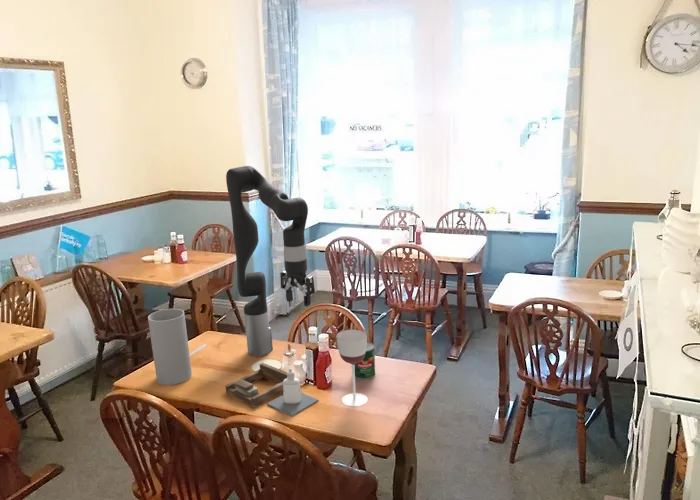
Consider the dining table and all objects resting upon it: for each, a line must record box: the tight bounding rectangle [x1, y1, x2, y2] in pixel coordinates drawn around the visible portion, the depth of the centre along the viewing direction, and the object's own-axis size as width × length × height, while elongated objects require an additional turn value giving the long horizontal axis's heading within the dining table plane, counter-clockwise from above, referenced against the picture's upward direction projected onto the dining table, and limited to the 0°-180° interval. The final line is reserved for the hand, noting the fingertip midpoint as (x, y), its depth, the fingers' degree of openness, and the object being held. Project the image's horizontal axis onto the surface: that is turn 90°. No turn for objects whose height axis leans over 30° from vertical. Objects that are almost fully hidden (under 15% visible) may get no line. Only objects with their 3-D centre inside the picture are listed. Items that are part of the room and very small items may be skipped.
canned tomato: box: [354, 341, 376, 380], centre depth 206 cm, size 8×8×11 cm
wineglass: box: [336, 329, 369, 407], centre depth 187 cm, size 9×10×23 cm
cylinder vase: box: [147, 308, 193, 386], centre depth 208 cm, size 12×12×25 cm
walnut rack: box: [224, 362, 288, 408], centre depth 199 cm, size 17×16×5 cm
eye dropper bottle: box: [282, 367, 302, 404], centre depth 188 cm, size 4×6×12 cm
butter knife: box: [189, 343, 207, 357], centre depth 228 cm, size 1×27×3 cm
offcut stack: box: [234, 380, 260, 397], centre depth 195 cm, size 4×9×5 cm, turn 49°
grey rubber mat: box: [267, 392, 320, 417], centre depth 190 cm, size 12×12×1 cm
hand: (298, 303), depth 195 cm, fingers open, 8 cm apart
